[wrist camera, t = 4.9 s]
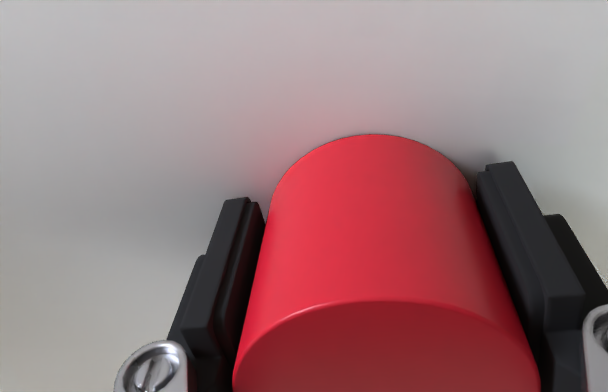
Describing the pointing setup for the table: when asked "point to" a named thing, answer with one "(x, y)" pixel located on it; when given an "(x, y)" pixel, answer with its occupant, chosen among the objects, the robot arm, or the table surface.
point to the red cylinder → (379, 281)
